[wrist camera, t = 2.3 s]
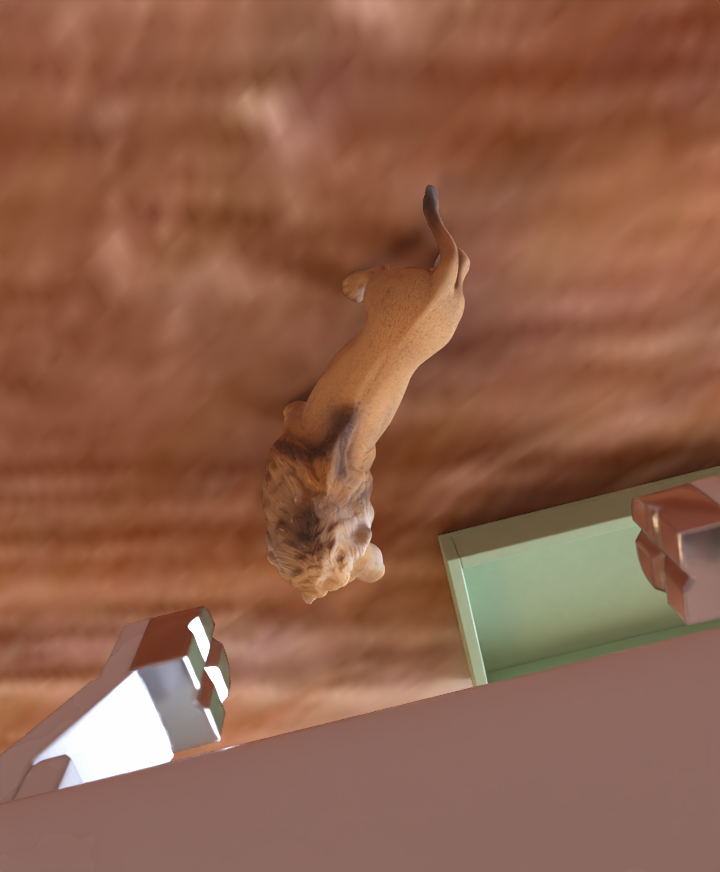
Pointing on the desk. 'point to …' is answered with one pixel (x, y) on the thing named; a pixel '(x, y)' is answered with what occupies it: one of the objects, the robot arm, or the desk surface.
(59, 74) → the desk surface
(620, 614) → the tray
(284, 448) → the lion figurine
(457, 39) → the desk surface
